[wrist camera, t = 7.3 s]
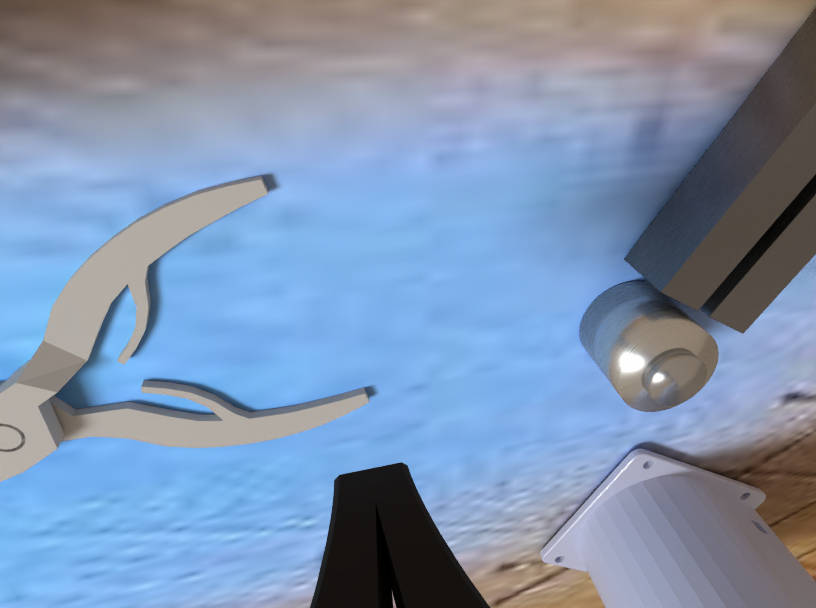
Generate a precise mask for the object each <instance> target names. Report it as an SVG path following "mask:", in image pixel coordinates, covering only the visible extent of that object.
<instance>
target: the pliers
mask: <svg viewBox="0 0 816 608" xmlns="http://www.w3.org/2000/svg"><path fill="white" fill-rule="evenodd" d="M267 194H268V188H267V186H266V184H265V182H264V180H263V178H262V176H257V177H252V178H247V179H242V180H237V181H233V182H228V183H224V184H220V185H217V186H213V187H209V188H206V189H202V190H198V191H195V192H193V193H191V194H188V195H186V196H183V197H181V198H178V199H176V200H174V201H171V202H169V203H166V204H165V205H163V206H161V207H159V208H157V209H155V210H153V211H151V212H149V213H148V214H146V215H144V216H142V217H140V218H138V219H137V220H135V221H134V222H133V223H131V224H130V225H128V226H127V227H126V228H124V229H123V230H121V231H120V232H118V233H117V234H116V235H114V236H113V237H112V238H111V239H109V240H108V241H107V242H106V243H105V244H104V245H102V246H101V247H100V248H99V249H98V250H97V251H95V252H94V253H93V254H92V255H91V256H90V257H89V258H88V259H87V260H86V261H85V262H84V264H83V265H82V266H81V267H80V268H79V269H78V270H77V271H76V272H75V273H74V274H73V276H72V277H71V278H70V280H69V281H68V283H67V284H66V286H65V287H64V289H63V291H62V292H61V294H60V295H59V297H58V298H57V300H56V302H55V303H54V305H53V306H52V310H51V314H50V318H49V321H48V325H47V329H46V332H45V336H44V340H43V342H42V343H41V345H40V346H39V348H38V349H37V351H36V353H35V354H34V356H33V357H32V359H31V360H29V361H28V362H27V363H25V364H24V365H22V366H21V367H20V368H19V369H18V370H17V371H16V372H15V373H14V374H13V375H12V376H11V377H10V378H9V379H7V380H6V381H3V382H0V482H1V481H3V480H6V479H8V478H10V477H13V476H15V475H17V474H20V473H22V472H24V471H26V470H27V469H29V468H30V467H32V466H33V465H34V464H36V463H37V462H39V461H40V460H42V459H43V458H45V457H46V456H48V455H49V454H51V453H52V452H54V451H55V450H56V449H58V446H59V444H60V442H61V441H67V440H73V439H79V438H85V437H111V438H128V439H133V440H138V441H143V442H147V443H152V444H157V445H162V446H170V447H189V448H203V447H224V446H233V445H241V444H250V443H255V442H261V441H267V440H272V439H277V438H281V437H285V436H288V435H292V434H296V433H300V432H303V431H306V430H309V429H312V428H314V427H317V426H320V425H323V424H326V423H328V422H330V421H332V420H335V419H337V418H339V417H341V416H343V415H345V414H348V413H350V412H351V411H353V410H355V409H357V408H359V407H361V406H363V405H365V404H367V403H369V397H368V394H367V392H366V390H365V388H364V387H363V388H360V389H357V390H353V391H350V392H346V393H343V394H340V395H336V396H331V397H327V398H323V399H319V400H315V401H311V402H307V403H303V404H298V405H294V406H288V407H282V408H276V409H269V410H262V411H254V412H248V411H245V410H242V409H239V408H236V407H234V406H233V405H231V404H229V403H228V402H226V401H224V400H223V399H221V398H219V397H218V396H216V395H214V394H212V393H209V392H206V391H204V390H201V389H198V388H196V387H193V386H189V385H183V384H177V383H171V382H161V381H148V380H144V381H143V384H142V387H141V388H142V393H154V394H165V395H171V396H176V397H181V398H187V399H189V400H192V401H194V402H196V403H199V404H201V405H204V406H206V407H208V408H209V409H210V410H212V411H213V412H214V413H215V414H194V413H188V412H181V411H175V410H169V409H164V408H159V407H154V406H149V405H144V404H139V403H134V402H123V403H116V404H109V405H102V406H96V407H89V408H82V409H74V408H73V407H71V406H70V405H68V404H67V403H65V402H64V401H62V400H60V399H59V398H57V397H56V396H54V395H55V394H56V393H57V392H58V391H59V390H60V389H61V388H62V387H63V386H64V385H65V384H66V383H67V382H68V381H69V380H70V379H71V378H72V377H73V375H74V374H75V373H76V372H77V371H78V370H79V369H80V368H81V367H82V366H83V365H84V364H85V363H86V362H87V361H88V359H89V357H90V355H91V352H92V350H93V347H94V344H95V342H96V339H97V336H98V334H99V331H100V328H101V326H102V323H103V320H104V318H105V316H106V314H107V312H108V310H109V307H110V305H111V303H112V301H113V300H114V299H115V298H116V297H117V296H118V295H119V293H120V292H121V291H122V290H123V289H124V288H125V286H126V285H127V284H128V286H129V289H130V291H131V294H132V297H133V299H134V302H135V304H136V307H137V311H136V328H135V330H134V332H133V334H132V337H131V339H130V341H129V342H128V344H127V345H126V346H125V348H124V349H123V351H122V352H121V354H120V356H119V358H118V360H117V361H118V362H120V363H122V364H125V363H126V362H127V360H128V359H129V358H130V356H131V355H132V353H133V352H134V351H135V349H136V348H137V346H138V344H139V342H140V340H141V338H142V336H143V334H144V332H145V330H146V327H147V325H148V318H149V311H150V305H151V300H150V292H149V285H148V278H147V276H148V270H149V265H150V264H151V263H152V262H154V261H155V260H156V259H158V258H159V257H160V256H162V255H163V254H164V253H166V252H167V251H168V250H170V249H171V248H172V247H174V246H175V245H177V244H178V243H179V242H181V241H182V240H184V239H185V238H186V237H188V236H189V235H191V234H193V233H195V232H196V231H198V230H200V229H202V228H203V227H205V226H207V225H209V224H210V223H212V222H214V221H216V220H218V219H220V218H221V217H223V216H225V215H227V214H229V213H230V212H232V211H234V210H236V209H238V208H240V207H242V206H244V205H246V204H248V203H250V202H252V201H254V200H256V199H258V198H260V197H263V196H265V195H267Z"/></svg>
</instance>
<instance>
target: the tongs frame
mask: <svg viewBox="0 0 816 608" xmlns="http://www.w3.org/2000/svg"><path fill="white" fill-rule="evenodd" d="M815 254H816V174H815V175H814V176H813V178H812V179H811V180H810V181H809V182H808V183H807V185H806V186H805V187H804V188H803V189H802V190H801V192H800V193H799V194H798V195H797V196H796V197H795V199H794V200H793V201H792V202H791V203H790V204H789V205H788V207H787V208H786V209H785V210H784V211H783V212H782V214H781V215H780V216H779V217H778V218H777V219H776V221H775V222H774V223H773V224H772V225H771V226H770V228H769V229H768V230H767V231H766V232H765V233H764V235H763V236H762V237H761V238H760V239H759V240H758V241H757V243H756V244H755V245H754V246H753V247H752V248H751V250H750V251H749V252H748V253H747V254H746V255H745V257H744V258H743V259H742V260H741V261H740V262H739V264H738V265H737V266H736V267H735V268H734V269H733V271H732V272H731V273H730V274H729V275H728V276H727V277H726V279H725V280H724V281H723V282H722V283H721V284H720V286H719V287H718V288H717V289H716V290H715V291H714V293H713V294H712V295H711V296H710V297H709V298H708V300H707V301H706V302H705V303H704V304H703V305H702V307H701V308H700V309H701V310H702V311H703V312H704V313H705V314H707V315H708V316H709V317H711V318H713V319H715V320H717V321H719V322H721V323H723V324H725V325H727V326H729V327H731V328H733V329H735V330H737V331H739V332H741V333H744V332H745V331H746V330H747V329H748V328H749V327H750V325H751V324H752V323H753V322H754V321H755V320H756V319H757V318H758V317H759V316H760V315H761V313H762V312H763V311H764V310H765V309H766V308H767V307H768V306H769V305H770V304H771V302H772V301H773V300H774V299H775V298H776V297H777V296H778V295H779V294H780V293H781V291H782V290H783V289H784V288H785V287H786V286H787V285H788V284H789V283H790V282H791V280H792V279H793V278H794V277H795V276H796V275H797V274H798V273H799V272H800V271H801V270H802V268H803V267H804V266H805V265H806V264H807V263H808V262H809V261H810V260H811V259H812V257H813V256H814V255H815ZM579 336H580V341H581V343H582V345H583V347H584V348H585V350H586V351H587V352H588V354H589V355H590V356H591V358H592V359H593V360H594V362H595V363H596V364H597V366H598V367H599V368H600V370H601V371H602V372H603V374H604V375H605V376H606V378H607V379H608V380H609V382H610V383H611V384H612V386H613V387H614V388H615V390H616V391H617V392H618V394H619V395H620V396H621V398H622V399H623V400H624V401H625V402H626V404H627V405H629V406H630V407H632V408H634V409H636V410H639V411H645V412H656V411H662V410H666V409H670V408H672V407H675V406H677V405H679V404H681V403H683V402H685V401H687V400H688V399H690V398H691V397H693V396H694V395H695V394H696V393H697V392H699V391H700V390H701V389H702V388H703V387H704V385H705V384H706V383H707V382H708V380H709V379H710V378H711V376H712V374H713V372H714V370H715V368H716V366H717V362H718V347H717V344H716V342H715V340H714V339H713V337H712V336H711V335H709V334H708V333H707V332H706V331H705V330H704V329H703V328H702V327H701V326H699V325H698V324H697V323H696V322H695V321H694V320H693V319H692V318H691V317H689V316H688V315H687V314H686V313H685V312H684V311H683V310H682V309H680V308H679V307H678V306H677V305H676V304H675V303H674V302H673V301H672V300H670V299H669V298H668V297H667V296H666V295H665V294H663V293H661V292H660V291H659V290H658V289H657V288H655V287H654V286H653V285H652V284H650V283H646V282H640V281H632V282H626V283H622V284H619V285H617V286H614V287H612V288H610V289H608V290H607V291H605V292H604V293H602V294H601V295H600V296H598V297H597V298H596V299H595V300H594V301H593V302H592V303H591V305H590V306H589V307H588V309H587V310H586V312H585V314H584V315H583V318H582V320H581V324H580V329H579Z"/></svg>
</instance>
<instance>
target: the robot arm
mask: <svg viewBox="0 0 816 608" xmlns="http://www.w3.org/2000/svg"><path fill="white" fill-rule="evenodd" d="M765 498H766V495H765V493H764V492H763V491H762V490H761V489H759V488H756V487H753V486H750V485H747V484H744V483H742V482H739V481H736V480H733V479H730V478H727V477H724V476H721V475H718V474H715V473H712V472H709V471H706V470H704V469H701V468H698V467H695V466H692V465H689V464H686V463H683V462H680V461H677V460H674V459H671V458H669V457H666V456H663V455H660V454H657V453H654V452H651V451H648V450H645V449H635V450H633V451H632V452H630V453H629V454H628V455H627V457H626V458H625V459H624V460H623V461H622V462H621V463H620V464H619V465H618V467H617V468H616V469H615V470H614V471H613V472H612V473H611V474H610V475H609V476H608V478H607V479H606V480H605V481H604V482H603V483H602V484H601V485H600V486H599V487H598V489H597V490H596V491H595V492H594V493H593V494H592V495H591V496H590V497H589V498H588V500H587V501H586V502H585V503H584V504H583V505H582V506H581V507H580V508H579V509H578V511H577V512H576V513H575V514H574V515H573V516H572V517H571V518H570V519H569V521H568V522H567V523H566V524H565V525H564V526H563V527H562V528H561V529H560V530H559V532H558V533H557V534H556V535H555V536H554V537H553V538H552V539H551V540H550V541H549V543H548V544H547V545H546V546H545V547H544V548H543V549H542V551H541V552H540V555H541V558H542V560H543V561H544V562H545V563H548V564H553V565H558V566H562V567H567V568H572V569H576V570H581V571H586V572H588V573H589V575H590V577H591V579H592V581H593V583H594V585H595V587H596V589H597V591H598V594H599V596H600V598H601V600H602V602H603V604H604V606H605V608H816V582H815V580H814V579H813V578H812V577H811V576H810V575H809V573H808V572H807V571H806V570H805V569H804V567H803V566H802V565H801V564H800V563H799V561H798V560H797V559H796V558H795V557H794V556H793V554H792V553H791V552H790V551H789V550H788V548H787V547H786V546H785V545H784V544H783V543H782V541H781V540H780V539H779V538H778V537H777V535H776V534H775V533H774V532H773V531H772V529H771V528H770V527H769V526H768V525H767V524H766V522H765V521H764V520H763V519H762V518H761V516H760V515H759V514H758V513H757V512H756V511H755V509H756V508H757V507H758V506H760V505H761V504H762V503H763V502H764V501H765ZM392 592H393V596H394V600H395V604H396V608H490V607H489V605H488V604H487V603H486V601H485V600H484V599H483V597H482V596H481V594H480V593H479V591H478V590H477V589H476V587H475V586H474V584H473V583H472V582H471V580H470V579H469V577H468V576H467V574H466V573H465V571H464V570H463V568H462V567H461V566H460V564H459V563H458V561H457V559H456V558H455V556H454V555H453V553H452V551H451V550H450V548H449V547H448V545H447V543H446V542H445V540H444V539H443V537H442V535H441V534H440V532H439V530H438V529H437V527H436V525H435V524H434V522H433V520H432V518H431V516H430V514H429V513H428V511H427V509H426V507H425V505H424V503H423V501H422V499H421V497H420V495H419V493H418V491H417V489H416V487H415V484H414V482H413V479H412V477H411V474H410V472H409V468H408V466H407V465H405V464H404V463H402V462H401V463H396V464H392V465H387V466H382V467H377V468H372V469H367V470H362V471H357V472H352V473H347V474H342V475H339V476H338V477H337V478H336V479H335V480H334V497H333V506H332V514H331V520H330V526H329V531H328V537H327V542H326V547H325V551H324V555H323V560H322V564H321V568H320V572H319V577H318V581H317V585H316V589H315V592H314V596H313V599H312V603H311V606H310V608H393V599H392Z"/></svg>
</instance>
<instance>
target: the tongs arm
mask: <svg viewBox="0 0 816 608" xmlns="http://www.w3.org/2000/svg"><path fill="white" fill-rule="evenodd" d="M815 174H816V9H815V10H814V11H813V13H812V14H811V15H810V17H809V18H808V19H807V21H806V22H805V23H804V24H803V26H802V27H801V28H800V30H799V31H798V32H797V34H796V35H795V36H794V38H793V39H792V40H791V41H790V43H789V44H788V45H787V47H786V48H785V49H784V51H783V52H782V53H781V55H780V56H779V57H778V58H777V60H776V61H775V62H774V64H773V65H772V66H771V68H770V69H769V70H768V72H767V73H766V74H765V75H764V77H763V78H762V79H761V81H760V82H759V83H758V85H757V86H756V87H755V89H754V90H753V91H752V92H751V94H750V95H749V96H748V98H747V99H746V100H745V102H744V103H743V104H742V105H741V107H740V108H739V109H738V111H737V112H736V113H735V115H734V116H733V117H732V119H731V120H730V121H729V122H728V124H727V125H726V126H725V128H724V129H723V130H722V132H721V133H720V134H719V136H718V137H717V138H716V139H715V141H714V142H713V143H712V145H711V146H710V147H709V149H708V150H707V151H706V153H705V154H704V155H703V156H702V158H701V159H700V160H699V162H698V163H697V164H696V166H695V167H694V168H693V170H692V171H691V172H690V173H689V175H688V176H687V177H686V179H685V180H684V181H683V183H682V184H681V185H680V186H679V188H678V189H677V190H676V192H675V193H674V194H673V196H672V197H671V198H670V200H669V201H668V202H667V203H666V205H665V206H664V207H663V209H662V210H661V211H660V213H659V214H658V215H657V217H656V218H655V219H654V220H653V222H652V223H651V224H650V226H649V227H648V228H647V230H646V231H645V232H644V234H643V235H642V236H641V237H640V239H639V240H638V241H637V243H636V244H635V245H634V247H633V248H632V249H631V251H630V252H629V253H628V254H627V256H626V257H625V258H624V260H625V261H627V262H628V263H629V264H630V265H631V266H632V267H633V268H634V269H635V270H637V271H638V272H639V273H640V274H641V275H642V276H643V277H644V278H645V279H647V280H648V281H649V282H650V283H651V284H652V285H653V286H654V287H655V288H657V289H658V290H659V291H660V292H661V293H663V294H665V295H667V296H669V297H671V298H673V299H675V300H677V301H679V302H681V303H683V304H685V305H687V306H689V307H691V308H693V309H695V310H697V311H698V310H699V309H700V308H701V307H702V305H703V304H704V303H705V302H706V301H707V300H708V298H709V297H710V296H711V295H712V294H713V293H714V291H715V290H716V289H717V288H718V287H719V286H720V284H721V283H722V282H723V281H724V280H725V279H726V277H727V276H728V275H729V274H730V273H731V272H732V271H733V269H734V268H735V267H736V266H737V265H738V264H739V262H740V261H741V260H742V259H743V258H744V257H745V255H746V254H747V253H748V252H749V251H750V250H751V248H752V247H753V246H754V245H755V244H756V243H757V241H758V240H759V239H760V238H761V237H762V236H763V235H764V233H765V232H766V231H767V230H768V229H769V228H770V226H771V225H772V224H773V223H774V222H775V221H776V219H777V218H778V217H779V216H780V215H781V214H782V212H783V211H784V210H785V209H786V208H787V207H788V205H789V204H790V203H791V202H792V201H793V200H794V199H795V197H796V196H797V195H798V194H799V193H800V192H801V190H802V189H803V188H804V187H805V186H806V185H807V183H808V182H809V181H810V180H811V179H812V178H813V176H814V175H815Z"/></svg>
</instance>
